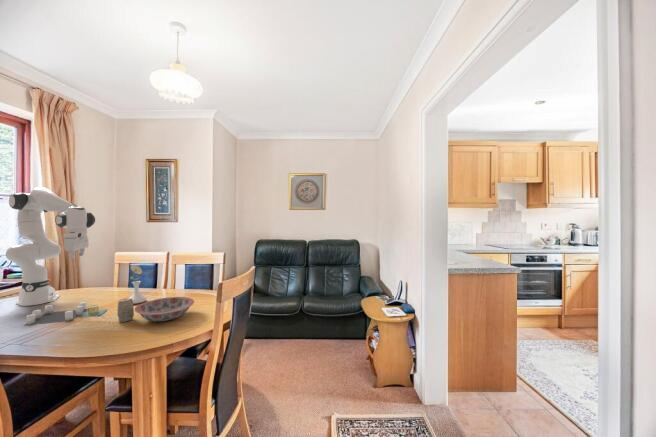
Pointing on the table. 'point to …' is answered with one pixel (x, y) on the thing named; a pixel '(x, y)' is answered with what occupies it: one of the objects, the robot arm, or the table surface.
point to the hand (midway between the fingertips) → (77, 256)
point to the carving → (125, 310)
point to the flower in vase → (136, 286)
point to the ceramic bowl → (164, 308)
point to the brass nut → (93, 309)
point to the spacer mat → (54, 315)
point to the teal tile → (93, 314)
